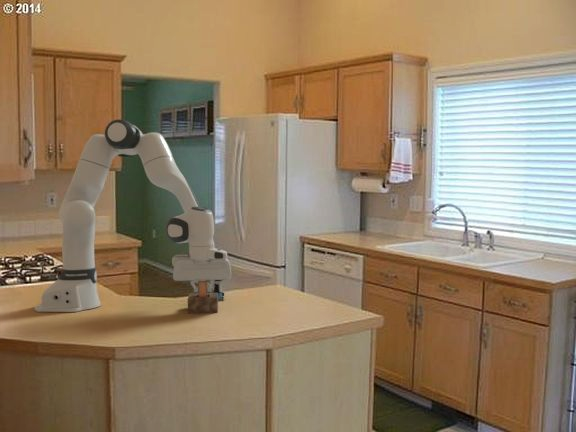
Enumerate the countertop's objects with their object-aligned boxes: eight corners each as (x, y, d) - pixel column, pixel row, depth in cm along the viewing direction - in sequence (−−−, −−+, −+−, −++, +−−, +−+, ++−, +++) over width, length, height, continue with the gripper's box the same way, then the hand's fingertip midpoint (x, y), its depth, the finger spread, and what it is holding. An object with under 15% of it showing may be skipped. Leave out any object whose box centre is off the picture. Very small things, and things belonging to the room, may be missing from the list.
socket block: (187, 313, 214) (187, 299, 214) (190, 307, 224) (189, 293, 224) (217, 312, 215) (217, 298, 215) (218, 306, 225) (217, 292, 225)
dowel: (198, 307, 218) (197, 282, 217) (198, 305, 221) (198, 280, 220) (207, 307, 218) (207, 282, 217) (208, 305, 221) (207, 280, 221)
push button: (230, 299, 237) (229, 273, 236) (221, 301, 233) (220, 275, 232) (216, 297, 241) (216, 271, 240) (207, 300, 236) (206, 273, 236)
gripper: (170, 255, 214) (171, 295, 215) (230, 253, 216) (231, 293, 217) (172, 252, 220) (173, 291, 221) (231, 251, 222) (231, 290, 223)
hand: (202, 292), depth 219 cm, fingers closed on dowel, 3 cm apart
